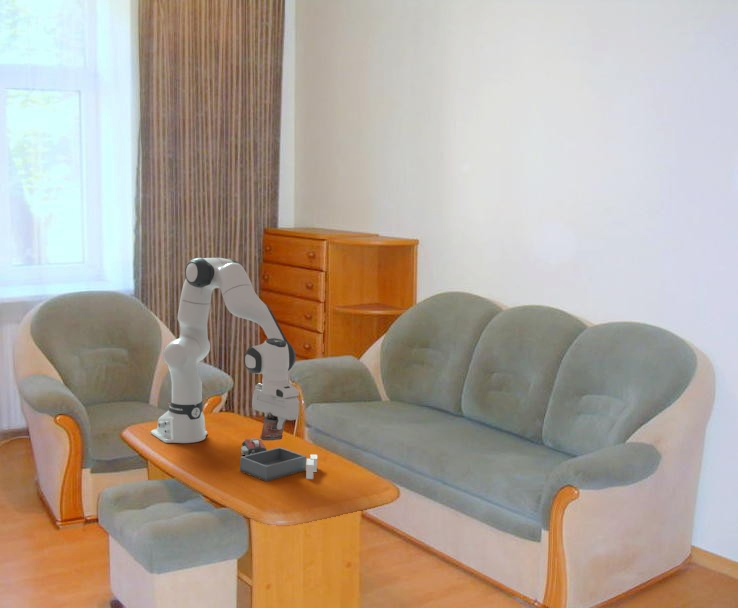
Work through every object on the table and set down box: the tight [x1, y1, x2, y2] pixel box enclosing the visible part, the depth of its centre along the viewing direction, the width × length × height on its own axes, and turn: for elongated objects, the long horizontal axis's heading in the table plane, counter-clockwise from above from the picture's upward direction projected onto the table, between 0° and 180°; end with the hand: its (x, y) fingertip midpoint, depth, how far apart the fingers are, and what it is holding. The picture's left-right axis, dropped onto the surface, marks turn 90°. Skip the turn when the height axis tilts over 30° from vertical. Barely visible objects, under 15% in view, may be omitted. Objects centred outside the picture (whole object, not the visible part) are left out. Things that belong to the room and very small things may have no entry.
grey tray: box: [239, 446, 307, 482], centre depth 303 cm, size 14×18×5 cm
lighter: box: [259, 412, 287, 442], centre depth 302 cm, size 8×3×10 cm, turn 123°
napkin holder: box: [305, 454, 318, 480], centre depth 302 cm, size 15×11×6 cm
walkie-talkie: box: [240, 438, 268, 456], centre depth 321 cm, size 9×4×20 cm
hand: (274, 427), depth 301 cm, fingers closed on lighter, 3 cm apart
